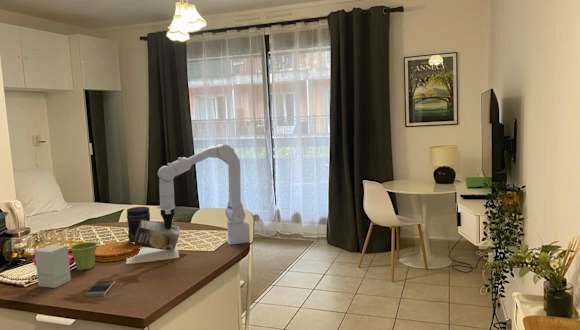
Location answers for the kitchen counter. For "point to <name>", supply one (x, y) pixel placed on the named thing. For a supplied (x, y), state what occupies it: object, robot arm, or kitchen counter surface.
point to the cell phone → (100, 288)
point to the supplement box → (52, 266)
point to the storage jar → (136, 220)
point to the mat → (153, 255)
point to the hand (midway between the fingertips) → (168, 227)
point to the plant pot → (84, 255)
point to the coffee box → (156, 236)
